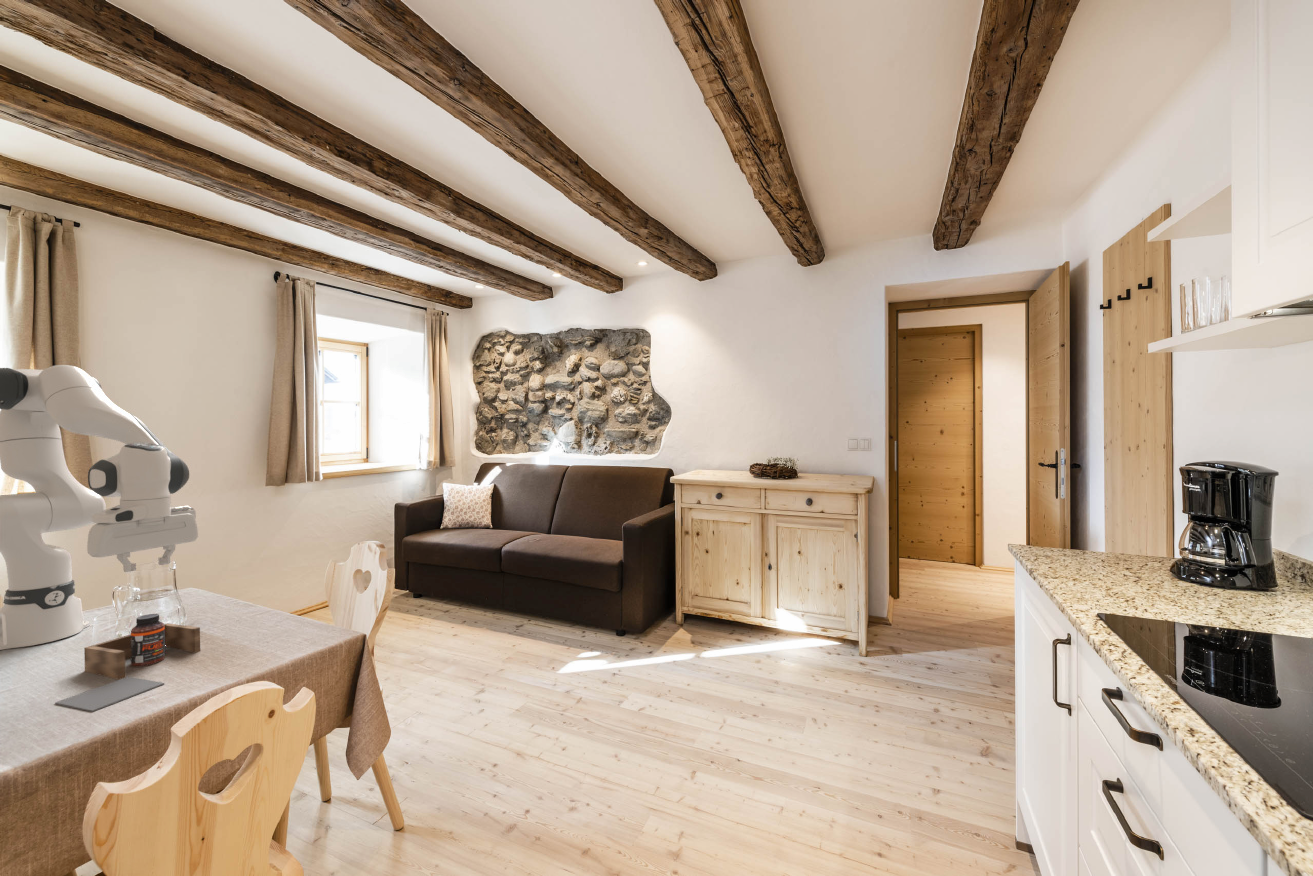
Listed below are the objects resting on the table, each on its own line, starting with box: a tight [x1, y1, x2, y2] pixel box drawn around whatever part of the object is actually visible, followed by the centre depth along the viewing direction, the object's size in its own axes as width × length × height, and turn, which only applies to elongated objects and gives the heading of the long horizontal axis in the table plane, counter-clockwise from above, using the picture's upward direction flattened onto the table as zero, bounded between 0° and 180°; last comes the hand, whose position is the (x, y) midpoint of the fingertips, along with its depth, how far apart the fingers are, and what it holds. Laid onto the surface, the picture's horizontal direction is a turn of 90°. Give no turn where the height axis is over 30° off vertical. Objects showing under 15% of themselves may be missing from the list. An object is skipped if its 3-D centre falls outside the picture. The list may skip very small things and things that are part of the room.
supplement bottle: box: [130, 613, 166, 667], centre depth 127 cm, size 6×6×11 cm
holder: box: [83, 622, 201, 680], centre depth 128 cm, size 12×16×6 cm
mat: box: [54, 676, 165, 713], centre depth 112 cm, size 12×12×1 cm
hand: (147, 567), depth 126 cm, fingers open, 5 cm apart
